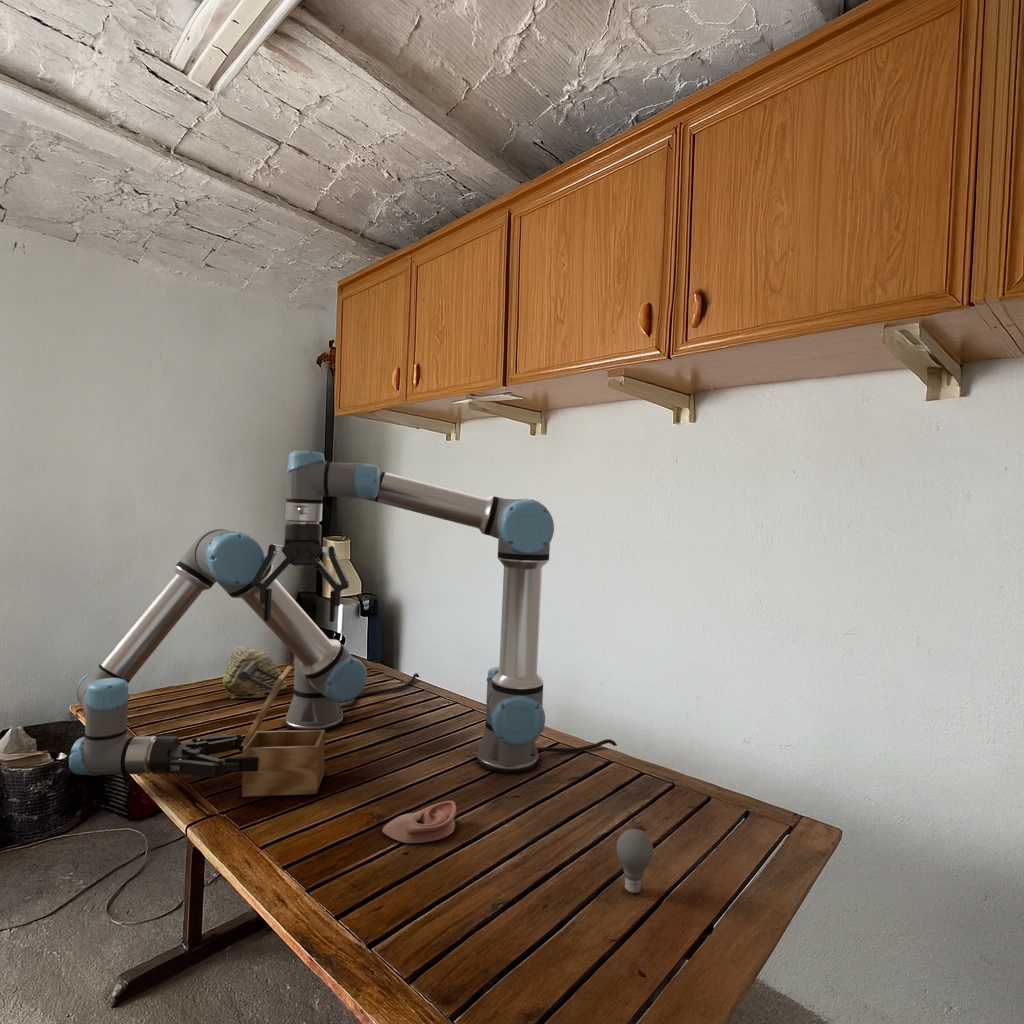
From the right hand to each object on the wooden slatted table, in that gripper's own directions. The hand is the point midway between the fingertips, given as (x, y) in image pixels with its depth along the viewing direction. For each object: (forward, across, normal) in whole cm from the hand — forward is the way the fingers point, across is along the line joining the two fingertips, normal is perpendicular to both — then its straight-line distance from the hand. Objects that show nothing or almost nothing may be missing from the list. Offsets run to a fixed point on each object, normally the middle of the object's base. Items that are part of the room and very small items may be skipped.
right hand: (299, 620), depth 138 cm
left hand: (+29, -6, 0) cm, 30 cm away
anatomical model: (+36, +27, -20) cm, 50 cm away
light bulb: (+36, +63, -42) cm, 84 cm away
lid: (+19, -6, 0) cm, 20 cm away
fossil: (+36, -24, +64) cm, 77 cm away
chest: (+36, -2, 0) cm, 36 cm away
